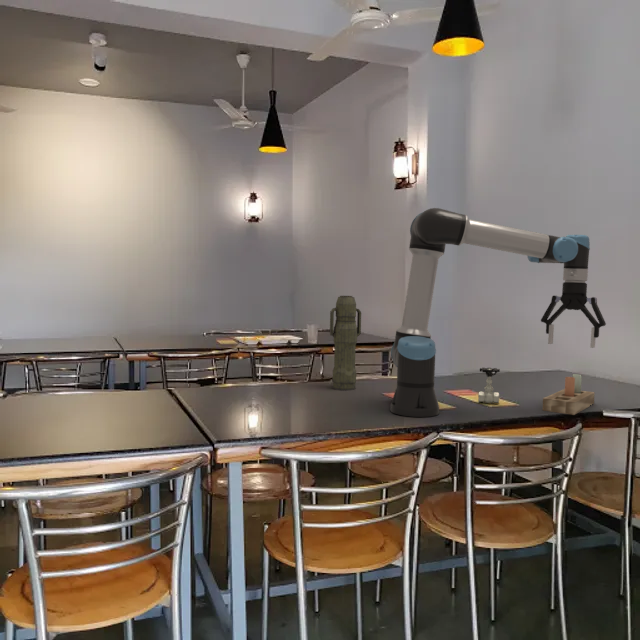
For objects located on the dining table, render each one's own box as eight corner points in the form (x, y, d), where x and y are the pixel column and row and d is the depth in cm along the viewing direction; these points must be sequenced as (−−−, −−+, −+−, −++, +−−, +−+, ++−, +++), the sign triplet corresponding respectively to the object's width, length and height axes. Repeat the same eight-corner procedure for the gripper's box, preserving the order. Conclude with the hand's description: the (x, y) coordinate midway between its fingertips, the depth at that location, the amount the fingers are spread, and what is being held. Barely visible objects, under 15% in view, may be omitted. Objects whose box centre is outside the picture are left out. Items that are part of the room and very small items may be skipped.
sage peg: (570, 403, 220) (571, 374, 219) (572, 402, 222) (573, 373, 222) (579, 404, 218) (580, 375, 217) (581, 403, 220) (582, 374, 220)
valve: (499, 406, 213) (500, 370, 212) (478, 405, 215) (480, 369, 214) (497, 402, 220) (499, 367, 219) (478, 401, 221) (479, 367, 220)
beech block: (542, 410, 207) (542, 398, 207) (564, 399, 226) (564, 388, 226) (574, 414, 201) (574, 402, 201) (594, 403, 220) (594, 392, 220)
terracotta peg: (565, 405, 216) (567, 376, 215) (574, 406, 214) (576, 377, 213) (562, 407, 214) (564, 377, 213) (571, 408, 212) (573, 378, 211)
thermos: (363, 389, 239) (365, 296, 237) (334, 391, 235) (336, 296, 232) (353, 385, 247) (355, 295, 245) (325, 387, 243) (327, 295, 240)
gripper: (533, 280, 215) (530, 342, 217) (612, 282, 200) (608, 349, 202) (540, 280, 221) (537, 341, 223) (618, 283, 206) (613, 348, 208)
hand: (571, 345), depth 212 cm, fingers open, 13 cm apart
